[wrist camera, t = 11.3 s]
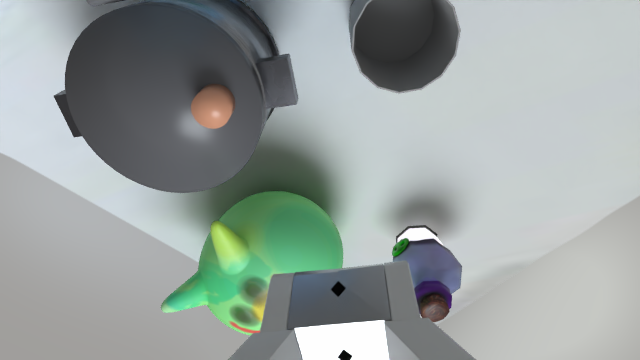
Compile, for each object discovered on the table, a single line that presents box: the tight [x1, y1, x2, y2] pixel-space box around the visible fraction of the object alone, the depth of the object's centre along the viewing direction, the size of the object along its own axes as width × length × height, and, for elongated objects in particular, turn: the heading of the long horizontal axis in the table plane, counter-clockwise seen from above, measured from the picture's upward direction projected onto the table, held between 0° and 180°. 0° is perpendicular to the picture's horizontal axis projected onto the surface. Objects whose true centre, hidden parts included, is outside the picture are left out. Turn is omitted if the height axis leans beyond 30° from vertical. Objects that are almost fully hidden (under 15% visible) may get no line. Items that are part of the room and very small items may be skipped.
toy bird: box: [161, 191, 343, 335], centre depth 48 cm, size 18×17×15 cm
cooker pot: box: [54, 0, 298, 137], centre depth 40 cm, size 17×21×10 cm
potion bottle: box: [392, 225, 462, 322], centre depth 50 cm, size 9×9×12 cm
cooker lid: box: [65, 0, 264, 193], centre depth 34 cm, size 18×16×4 cm
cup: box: [349, 0, 461, 93], centre depth 37 cm, size 8×8×10 cm
